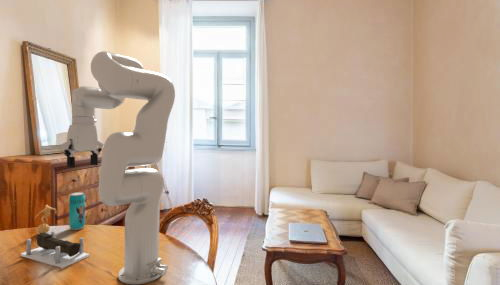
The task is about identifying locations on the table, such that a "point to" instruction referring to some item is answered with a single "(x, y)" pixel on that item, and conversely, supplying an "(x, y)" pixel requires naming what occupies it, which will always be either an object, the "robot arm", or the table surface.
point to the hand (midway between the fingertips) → (82, 166)
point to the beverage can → (77, 211)
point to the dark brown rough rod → (57, 244)
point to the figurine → (44, 227)
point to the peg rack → (54, 254)
